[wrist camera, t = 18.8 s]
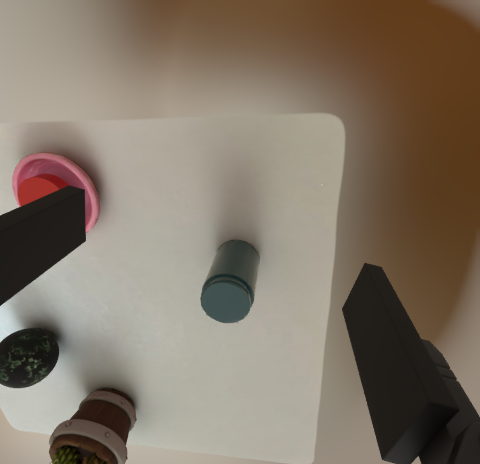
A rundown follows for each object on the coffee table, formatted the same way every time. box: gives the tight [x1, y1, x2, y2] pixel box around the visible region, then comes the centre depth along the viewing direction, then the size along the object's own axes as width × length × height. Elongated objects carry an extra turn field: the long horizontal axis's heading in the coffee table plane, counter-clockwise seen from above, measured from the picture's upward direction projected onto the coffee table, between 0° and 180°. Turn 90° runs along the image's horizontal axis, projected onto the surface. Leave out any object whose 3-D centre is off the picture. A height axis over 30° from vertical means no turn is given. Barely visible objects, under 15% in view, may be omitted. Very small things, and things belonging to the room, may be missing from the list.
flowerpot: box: [49, 388, 137, 464], centre depth 56 cm, size 14×15×20 cm
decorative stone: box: [0, 328, 59, 388], centre depth 54 cm, size 10×10×10 cm
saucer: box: [12, 152, 100, 233], centre depth 43 cm, size 12×12×3 cm
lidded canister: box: [201, 240, 259, 323], centre depth 40 cm, size 7×7×11 cm
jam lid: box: [18, 174, 68, 206], centre depth 40 cm, size 7×7×2 cm
